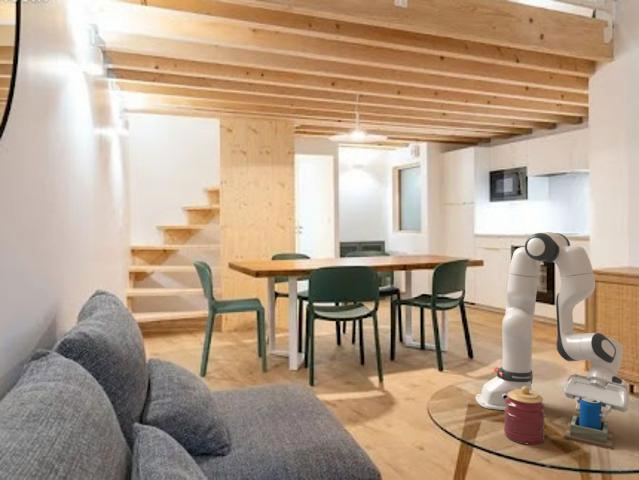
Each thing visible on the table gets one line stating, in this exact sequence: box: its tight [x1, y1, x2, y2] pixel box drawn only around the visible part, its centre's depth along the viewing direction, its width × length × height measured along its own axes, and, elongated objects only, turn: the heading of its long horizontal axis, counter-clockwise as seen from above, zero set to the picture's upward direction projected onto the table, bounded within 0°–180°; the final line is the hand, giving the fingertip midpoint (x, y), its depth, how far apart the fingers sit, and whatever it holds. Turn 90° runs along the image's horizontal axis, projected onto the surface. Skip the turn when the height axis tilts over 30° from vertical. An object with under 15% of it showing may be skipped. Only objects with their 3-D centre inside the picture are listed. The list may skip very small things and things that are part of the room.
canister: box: [503, 386, 547, 445], centre depth 170 cm, size 13×13×18 cm
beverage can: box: [579, 397, 602, 430], centre depth 171 cm, size 6×6×12 cm
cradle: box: [564, 414, 614, 450], centre depth 171 cm, size 14×14×4 cm
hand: (589, 414), depth 170 cm, fingers closed on beverage can, 6 cm apart
